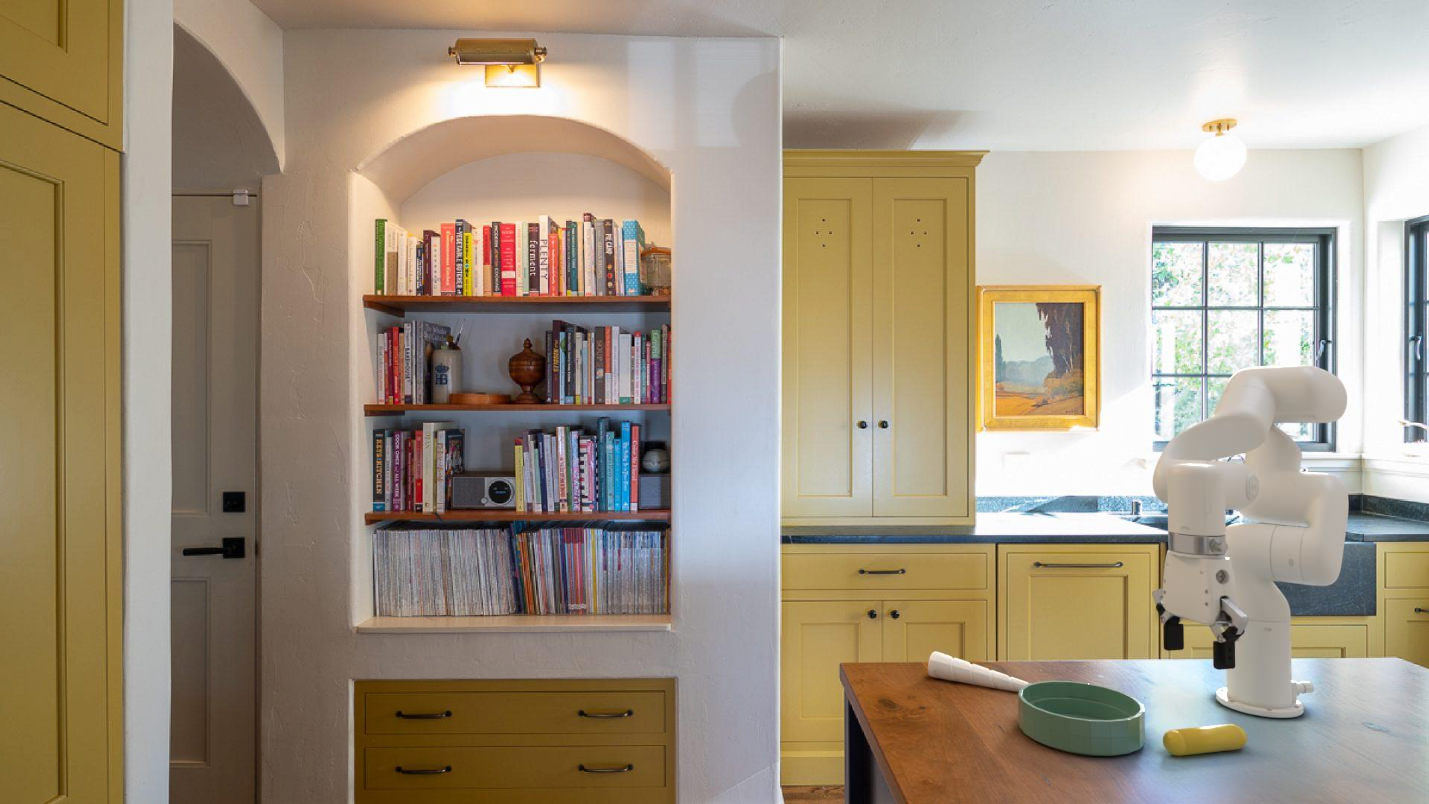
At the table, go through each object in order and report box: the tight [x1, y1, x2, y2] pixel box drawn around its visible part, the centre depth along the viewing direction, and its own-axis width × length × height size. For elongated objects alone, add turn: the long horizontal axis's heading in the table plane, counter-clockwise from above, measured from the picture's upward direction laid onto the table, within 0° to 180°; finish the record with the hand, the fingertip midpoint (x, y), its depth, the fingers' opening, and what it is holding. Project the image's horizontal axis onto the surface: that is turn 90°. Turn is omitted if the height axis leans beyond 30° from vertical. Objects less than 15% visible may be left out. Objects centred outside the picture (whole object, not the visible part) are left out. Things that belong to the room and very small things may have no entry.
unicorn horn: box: [927, 651, 1032, 693], centre depth 150 cm, size 5×24×5 cm, turn 52°
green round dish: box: [1017, 680, 1146, 757], centre depth 129 cm, size 18×18×6 cm
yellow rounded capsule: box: [1162, 723, 1248, 757], centre depth 122 cm, size 14×4×4 cm, turn 102°
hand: (1198, 658), depth 122 cm, fingers open, 9 cm apart
